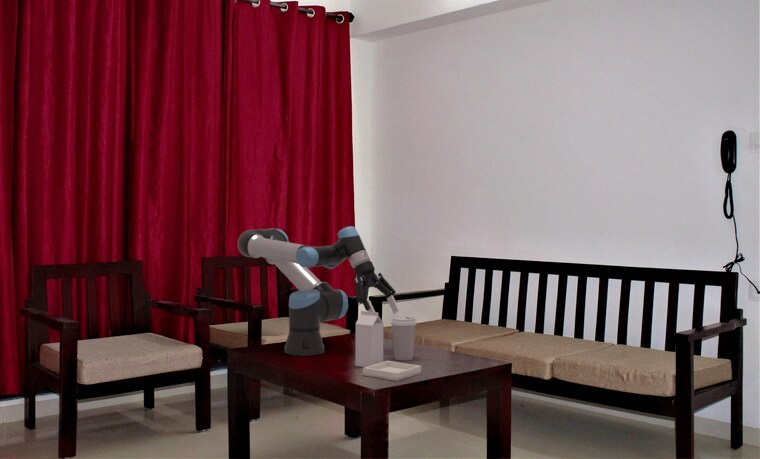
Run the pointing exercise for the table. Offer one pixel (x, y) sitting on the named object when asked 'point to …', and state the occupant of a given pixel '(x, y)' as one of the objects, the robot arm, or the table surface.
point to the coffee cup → (403, 337)
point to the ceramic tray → (392, 370)
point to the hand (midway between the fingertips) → (385, 314)
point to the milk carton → (369, 339)
